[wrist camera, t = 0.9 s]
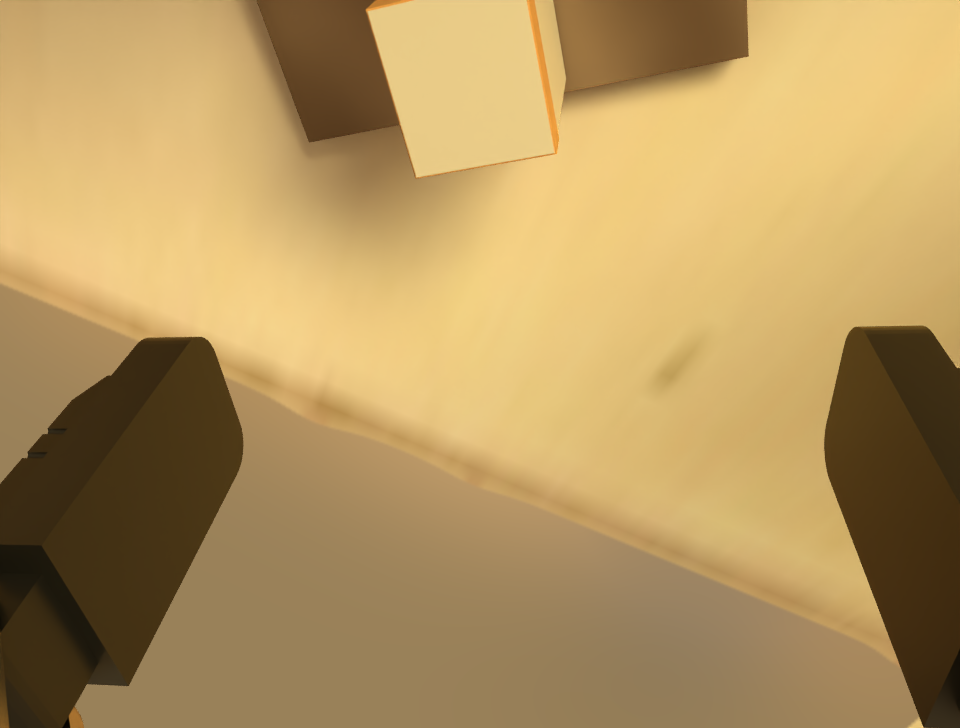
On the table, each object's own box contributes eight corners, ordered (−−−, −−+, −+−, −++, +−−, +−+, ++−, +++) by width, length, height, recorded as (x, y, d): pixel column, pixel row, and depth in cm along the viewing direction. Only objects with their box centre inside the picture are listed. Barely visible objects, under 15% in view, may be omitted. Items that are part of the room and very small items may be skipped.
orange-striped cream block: (543, -70, 24) (523, -28, 18) (567, 79, 26) (556, 154, 21) (419, -38, 25) (365, 10, 19) (454, 102, 27) (415, 179, 22)
